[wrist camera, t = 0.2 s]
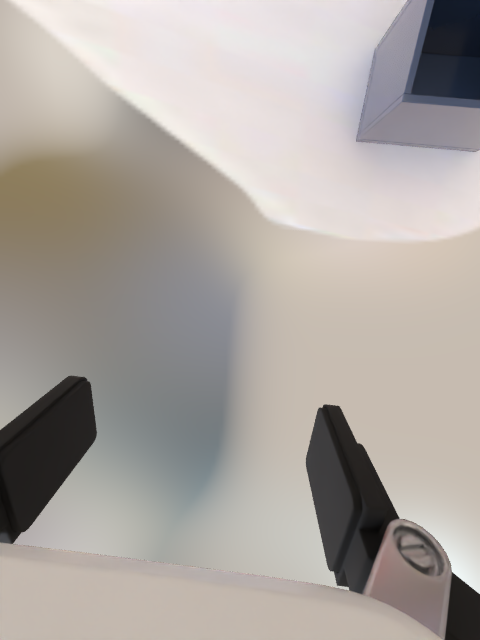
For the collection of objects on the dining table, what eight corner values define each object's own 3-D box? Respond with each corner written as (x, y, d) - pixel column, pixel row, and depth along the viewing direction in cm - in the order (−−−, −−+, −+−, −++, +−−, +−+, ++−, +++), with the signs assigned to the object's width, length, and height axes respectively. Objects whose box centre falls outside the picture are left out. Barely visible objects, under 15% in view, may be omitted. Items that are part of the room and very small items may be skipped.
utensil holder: (374, 48, 30) (439, -48, 19) (507, 59, 29) (644, -33, 19) (355, 141, 33) (401, 101, 23) (475, 151, 33) (578, 116, 22)
